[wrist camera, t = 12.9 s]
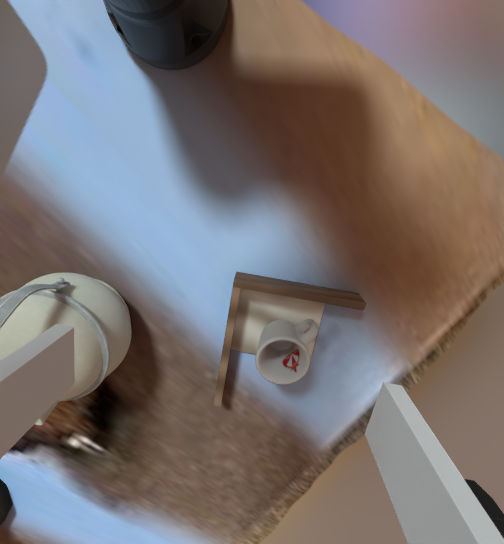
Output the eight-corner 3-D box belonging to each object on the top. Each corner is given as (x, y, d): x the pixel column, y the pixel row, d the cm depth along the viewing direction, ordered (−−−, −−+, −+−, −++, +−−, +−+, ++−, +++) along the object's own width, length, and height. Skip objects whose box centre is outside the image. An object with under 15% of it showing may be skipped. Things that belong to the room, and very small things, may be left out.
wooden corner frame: (236, 271, 47) (234, 279, 44) (358, 293, 47) (366, 303, 44) (217, 389, 54) (213, 405, 50) (323, 408, 54) (327, 425, 50)
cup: (296, 293, 48) (301, 314, 40) (326, 327, 49) (337, 353, 41) (247, 332, 50) (244, 359, 42) (277, 363, 52) (279, 394, 44)
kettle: (45, 239, 47) (-178, 295, 24) (155, 274, 48) (45, 362, 24) (32, 365, 55) (-150, 506, 31) (127, 393, 55) (22, 551, 32)
